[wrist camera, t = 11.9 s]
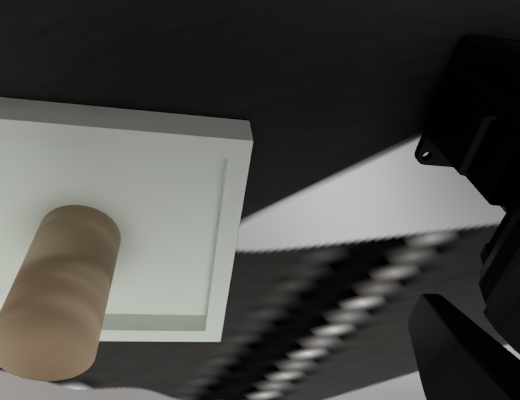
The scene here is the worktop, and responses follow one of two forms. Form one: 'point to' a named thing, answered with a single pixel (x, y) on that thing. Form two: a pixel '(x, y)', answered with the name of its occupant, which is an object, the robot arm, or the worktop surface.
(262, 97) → the worktop surface
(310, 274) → the worktop surface
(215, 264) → the tray
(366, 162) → the worktop surface
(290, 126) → the worktop surface
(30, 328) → the dowel
